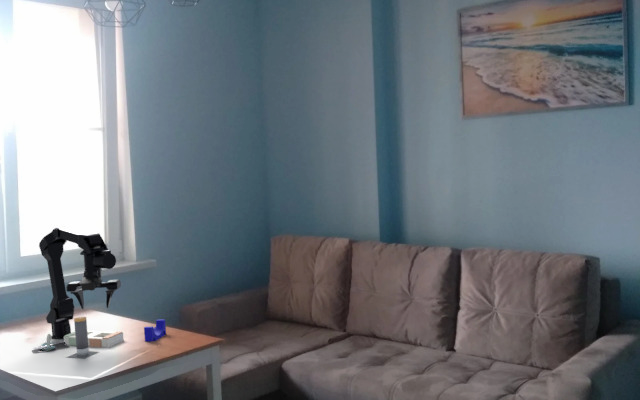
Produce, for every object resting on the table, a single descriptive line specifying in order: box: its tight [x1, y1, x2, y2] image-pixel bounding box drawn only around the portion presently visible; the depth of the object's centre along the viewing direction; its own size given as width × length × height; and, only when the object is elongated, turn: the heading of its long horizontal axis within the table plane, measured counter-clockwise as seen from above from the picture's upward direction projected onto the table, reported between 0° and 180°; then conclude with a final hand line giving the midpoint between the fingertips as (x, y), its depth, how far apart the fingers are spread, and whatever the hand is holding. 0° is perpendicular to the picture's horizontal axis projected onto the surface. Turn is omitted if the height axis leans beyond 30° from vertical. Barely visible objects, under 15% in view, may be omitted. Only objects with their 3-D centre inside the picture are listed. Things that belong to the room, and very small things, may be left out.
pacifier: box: [38, 333, 56, 353], centre depth 245 cm, size 7×6×6 cm
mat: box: [65, 350, 100, 360], centre depth 236 cm, size 8×8×1 cm
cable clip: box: [143, 318, 167, 342], centre depth 255 cm, size 12×4×6 cm, turn 169°
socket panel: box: [63, 330, 125, 348], centre depth 252 cm, size 20×9×4 cm, turn 70°
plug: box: [73, 316, 90, 356], centre depth 235 cm, size 4×4×13 cm
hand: (95, 308), depth 251 cm, fingers open, 9 cm apart
